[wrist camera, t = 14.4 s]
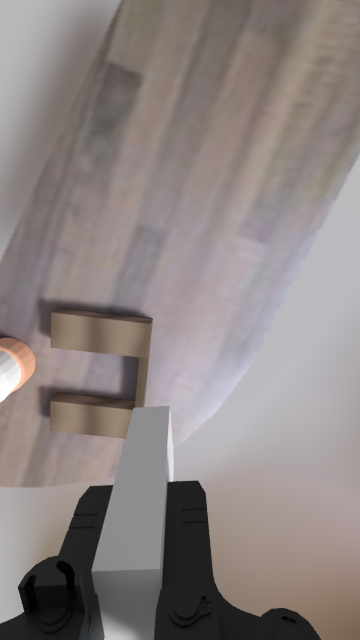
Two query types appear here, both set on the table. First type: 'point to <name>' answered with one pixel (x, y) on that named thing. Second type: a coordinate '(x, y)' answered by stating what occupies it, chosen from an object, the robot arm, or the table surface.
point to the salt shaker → (14, 365)
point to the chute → (99, 337)
